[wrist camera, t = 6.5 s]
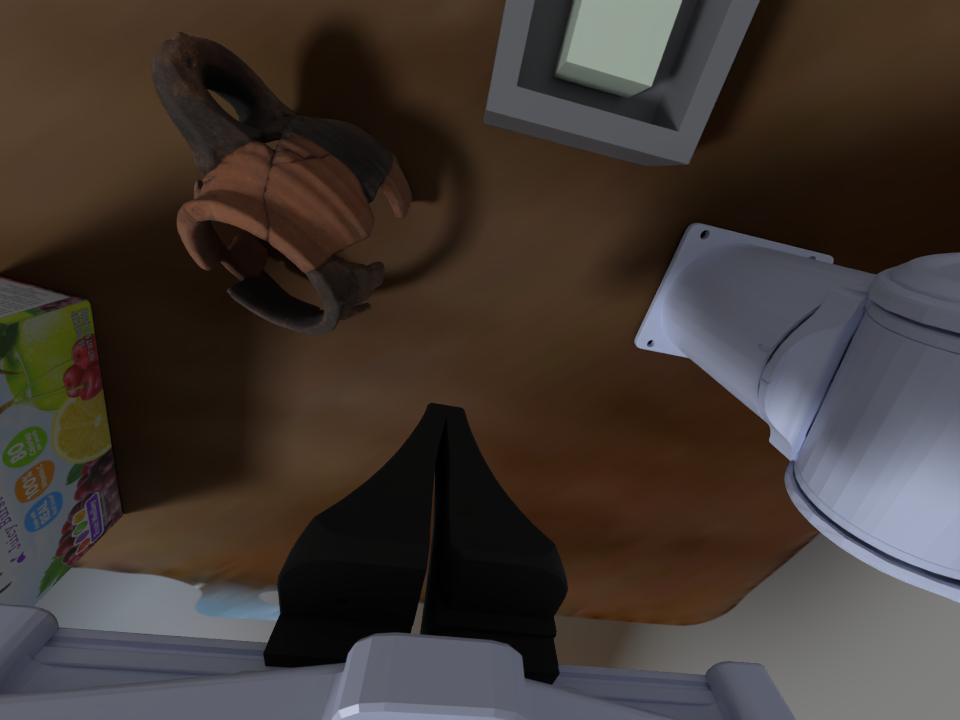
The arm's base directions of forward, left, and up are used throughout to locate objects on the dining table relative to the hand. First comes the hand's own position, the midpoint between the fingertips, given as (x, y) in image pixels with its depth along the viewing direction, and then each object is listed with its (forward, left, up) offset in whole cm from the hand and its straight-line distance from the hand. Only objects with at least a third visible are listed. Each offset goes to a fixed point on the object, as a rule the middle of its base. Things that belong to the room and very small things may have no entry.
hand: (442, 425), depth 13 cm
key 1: (-4, -15, -9) cm, 18 cm away
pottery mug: (+9, -6, -11) cm, 15 cm away
